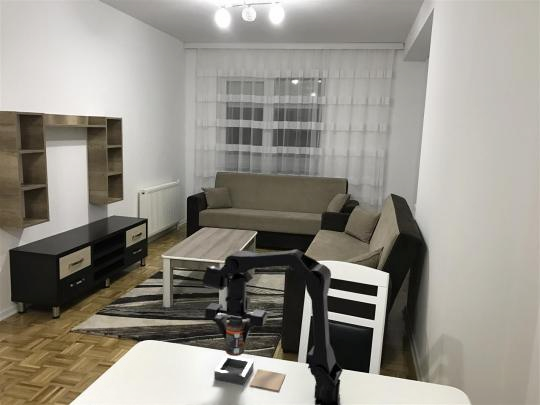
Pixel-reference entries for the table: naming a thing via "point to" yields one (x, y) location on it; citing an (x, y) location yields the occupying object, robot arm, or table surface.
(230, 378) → the collar
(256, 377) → the pad
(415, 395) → the table surface
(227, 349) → the supplement bottle
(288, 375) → the table surface
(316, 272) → the robot arm
